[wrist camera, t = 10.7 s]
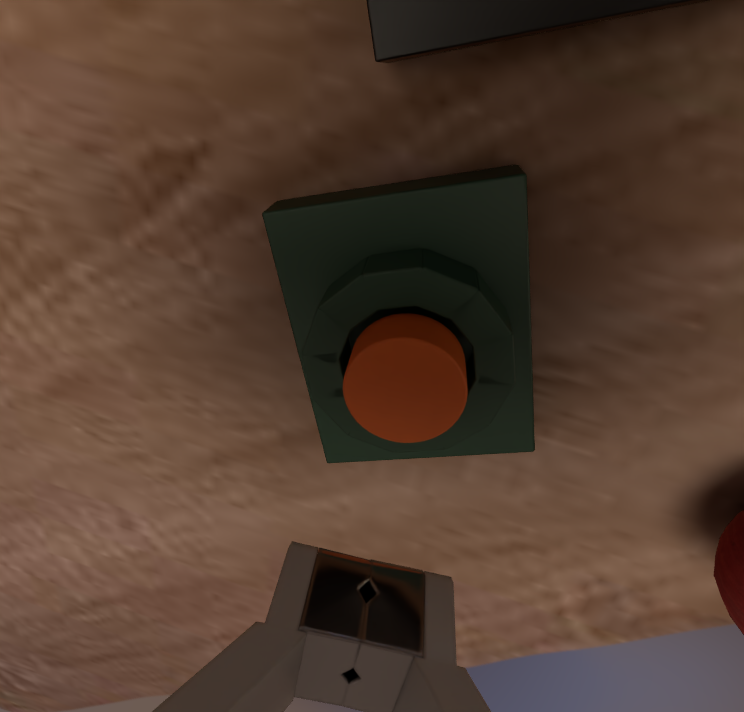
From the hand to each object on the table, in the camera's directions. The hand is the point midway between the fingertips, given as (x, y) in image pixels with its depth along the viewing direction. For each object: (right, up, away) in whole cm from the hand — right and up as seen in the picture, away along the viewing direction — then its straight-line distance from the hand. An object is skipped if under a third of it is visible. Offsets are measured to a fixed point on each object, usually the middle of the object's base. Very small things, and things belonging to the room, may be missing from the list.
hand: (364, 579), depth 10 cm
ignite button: (+1, +4, +7) cm, 8 cm away
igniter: (+2, +5, +10) cm, 11 cm away
